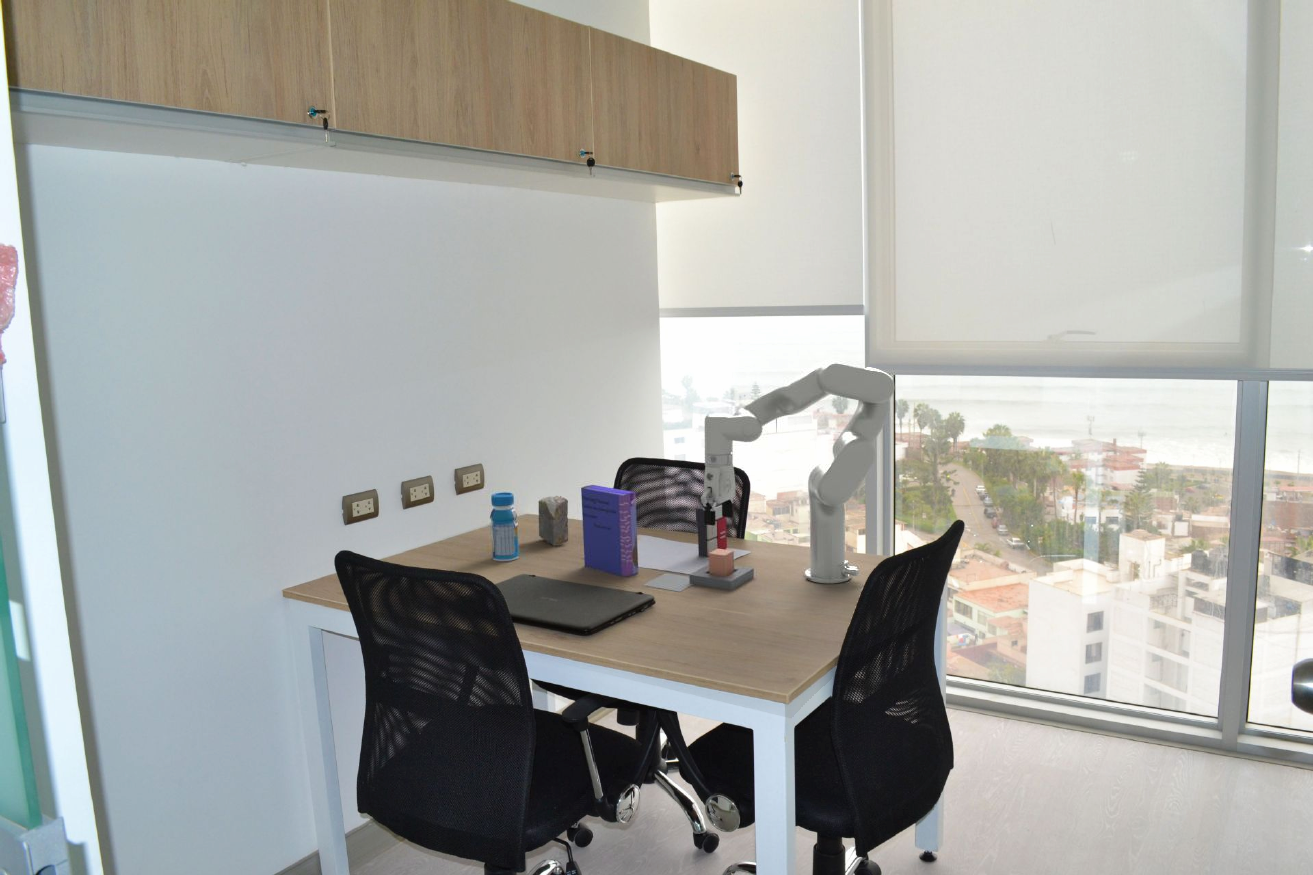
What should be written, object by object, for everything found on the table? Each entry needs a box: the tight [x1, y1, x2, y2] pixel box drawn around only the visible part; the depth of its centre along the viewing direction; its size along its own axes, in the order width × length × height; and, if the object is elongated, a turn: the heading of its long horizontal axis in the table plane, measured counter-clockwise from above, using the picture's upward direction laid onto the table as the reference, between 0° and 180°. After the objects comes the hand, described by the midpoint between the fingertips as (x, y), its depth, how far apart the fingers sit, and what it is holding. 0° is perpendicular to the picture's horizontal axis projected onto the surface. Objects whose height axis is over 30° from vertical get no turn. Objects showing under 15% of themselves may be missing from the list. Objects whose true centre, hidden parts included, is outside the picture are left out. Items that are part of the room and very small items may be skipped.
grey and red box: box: [695, 503, 728, 558], centre depth 296 cm, size 11×4×15 cm, turn 143°
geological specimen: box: [538, 495, 569, 546], centre depth 314 cm, size 11×6×15 cm, turn 33°
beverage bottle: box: [489, 492, 520, 562], centre depth 297 cm, size 8×8×20 cm
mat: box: [642, 572, 695, 593], centre depth 269 cm, size 12×12×1 cm
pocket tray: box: [688, 563, 755, 591], centre depth 269 cm, size 13×13×3 cm
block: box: [708, 549, 735, 577], centre depth 268 cm, size 5×5×8 cm
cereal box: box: [580, 484, 639, 578], centre depth 281 cm, size 17×5×24 cm, turn 47°
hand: (718, 520), depth 266 cm, fingers open, 9 cm apart
